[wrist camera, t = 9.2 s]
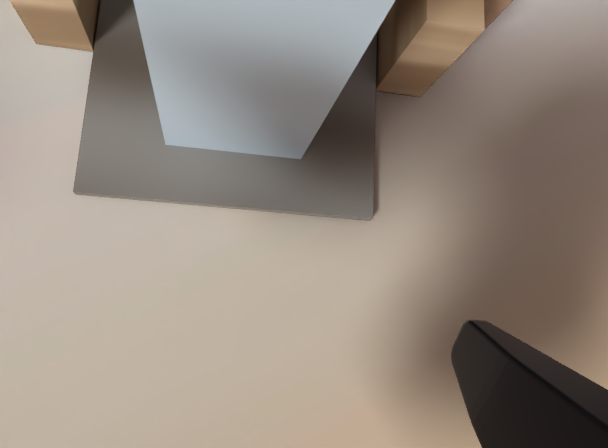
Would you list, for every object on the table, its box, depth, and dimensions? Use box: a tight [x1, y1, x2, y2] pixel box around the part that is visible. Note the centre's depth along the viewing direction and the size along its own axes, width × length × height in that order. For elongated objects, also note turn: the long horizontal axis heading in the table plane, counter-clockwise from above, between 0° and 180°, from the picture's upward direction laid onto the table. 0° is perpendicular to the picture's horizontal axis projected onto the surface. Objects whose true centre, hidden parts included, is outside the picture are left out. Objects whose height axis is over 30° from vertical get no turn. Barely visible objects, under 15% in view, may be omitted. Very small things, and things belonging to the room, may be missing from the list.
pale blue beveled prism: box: [133, 0, 395, 159], centre depth 14 cm, size 5×5×10 cm
